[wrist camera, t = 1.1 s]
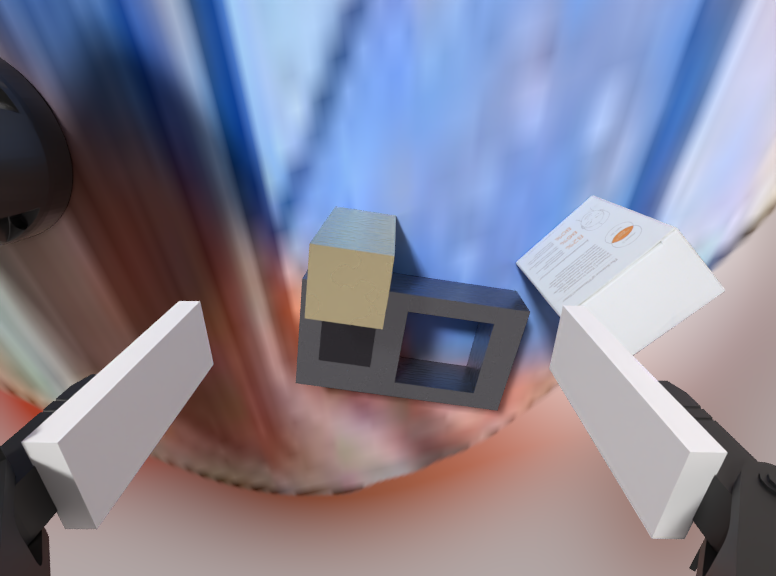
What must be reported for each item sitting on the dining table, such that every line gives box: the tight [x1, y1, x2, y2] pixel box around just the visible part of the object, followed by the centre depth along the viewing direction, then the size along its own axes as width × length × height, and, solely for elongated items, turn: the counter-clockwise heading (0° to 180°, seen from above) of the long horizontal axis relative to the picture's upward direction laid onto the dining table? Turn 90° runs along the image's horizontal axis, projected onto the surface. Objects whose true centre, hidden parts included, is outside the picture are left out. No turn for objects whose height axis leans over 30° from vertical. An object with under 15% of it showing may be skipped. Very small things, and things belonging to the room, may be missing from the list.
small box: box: [516, 196, 725, 356], centre depth 28 cm, size 8×6×10 cm
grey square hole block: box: [296, 270, 530, 410], centre depth 34 cm, size 18×10×4 cm, turn 82°
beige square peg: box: [305, 207, 396, 329], centre depth 28 cm, size 5×5×10 cm
